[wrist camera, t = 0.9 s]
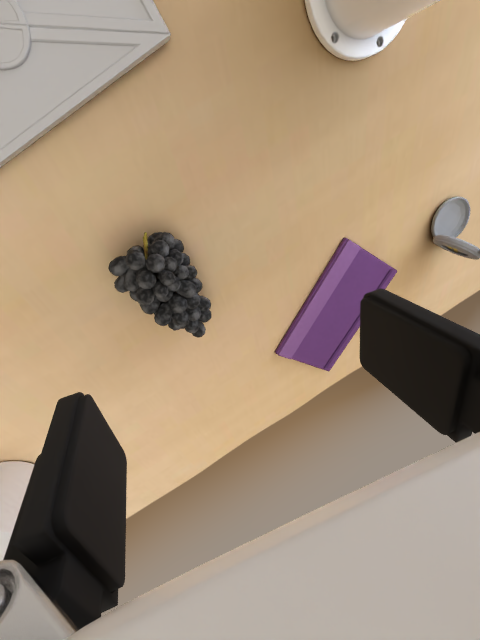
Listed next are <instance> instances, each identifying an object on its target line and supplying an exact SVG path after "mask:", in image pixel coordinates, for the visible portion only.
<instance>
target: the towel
mask: <svg viewBox="0 0 480 640" xmlns="http://www.w3.org/2000/svg"><path fill="white" fill-rule="evenodd" d="M396 273H397V270H395V269H394V268H392V267H391V266H389V265H387V264H386V263H384V262H383V261H381V260H380V259H378V258H376V257H375V256H373V255H372V254H370V253H369V252H367V251H365V250H364V249H362V248H361V247H360V246H358V245H357V244H355V243H354V242H352V241H350V240H349V239H347V238H343V240H342V242H341V243H340V245H339V247H338V248H337V250H336V252H335V253H334V255H333V257H332V258H331V260H330V261H329V263H328V265H327V266H326V268H325V270H324V271H323V273H322V275H321V276H320V278H319V280H318V281H317V283H316V285H315V286H314V288H313V290H312V291H311V293H310V294H309V296H308V298H307V299H306V301H305V303H304V304H303V306H302V308H301V309H300V311H299V313H298V314H297V316H296V318H295V319H294V321H293V323H292V324H291V326H290V328H289V329H288V331H287V332H286V334H285V336H284V337H283V339H282V341H281V342H280V344H279V346H278V347H277V349H276V351H275V353H276V354H278V355H279V356H282V357H285V358H288V359H294V360H297V361H300V362H303V363H306V364H309V365H312V366H315V367H318V368H321V369H324V370H327V371H330V369H331V368H332V366H333V365H334V364H335V362H336V361H337V359H338V358H339V356H340V355H341V353H342V352H343V350H344V349H345V347H346V346H347V344H348V343H349V342H350V340H351V339H352V337H353V336H354V334H355V333H356V331H357V330H358V328H359V327H360V302H361V300H362V299H363V297H364V295H365V294H366V293H369V292H372V291H375V290H377V289H386V287H387V286H388V284H389V283H390V281H391V280H392V278H393V277H394V275H395V274H396Z"/></svg>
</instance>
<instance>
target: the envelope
mask: <svg viewBox="0 0 480 640" xmlns="http://www.w3.org/2000/svg"><path fill="white" fill-rule="evenodd" d="M170 35H171V34H170V32H169V30H168V28H167V26H166V24H165V22H164V20H163V19H162V17H161V15H160V13H159V11H158V9H157V7H156V5H155V3H154V2H153V0H0V168H1V167H2V166H3V165H5V164H6V163H7V162H9V161H10V160H11V159H13V158H14V157H15V156H17V155H18V154H19V153H21V152H22V151H23V150H24V149H26V148H27V147H28V146H30V145H31V144H32V143H34V142H35V141H36V140H38V139H39V138H40V137H42V136H43V135H44V134H46V133H47V132H48V131H50V130H51V129H52V128H54V127H55V126H56V125H58V124H59V123H60V122H62V121H63V120H64V119H66V118H67V117H68V116H70V115H71V114H72V113H74V112H75V111H76V110H78V109H79V108H80V107H82V106H83V105H84V104H86V103H87V102H88V101H90V100H91V99H92V98H94V97H95V96H96V95H97V94H99V93H100V92H101V91H103V90H104V89H105V88H107V87H108V86H109V85H111V84H112V83H113V82H115V81H116V80H117V79H119V78H120V77H121V76H123V75H124V74H125V73H127V72H128V71H129V70H131V69H132V68H133V67H135V66H136V65H137V64H139V63H140V62H141V61H143V60H144V59H145V58H147V57H148V56H149V55H151V54H152V53H153V52H155V51H156V50H157V49H159V48H160V47H161V46H163V45H164V44H165V43H167V42H168V41H169V39H170Z"/></svg>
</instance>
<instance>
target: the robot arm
mask: <svg viewBox="0 0 480 640" xmlns="http://www.w3.org/2000/svg"><path fill="white" fill-rule="evenodd" d="M438 1H440V0H305V5H306V9H307V14H308V18H309V20H310V23H311V25H312V28H313V31H314V32H315V34H316V36H317V37H318V39H319V41H320V42H321V43H322V45H323V46H324V47H325V48H326V49H327V50H328V51H329V52H330V53H332V54H333V55H335V56H336V57H338V58H341V59H344V60H349V61H358V60H363V59H366V58H368V57H370V56H373V55H375V54H377V53H378V52H380V51H381V50H383V49H384V48H385V47H386V46H387V45H388V44H389V43H390V42H391V41H392V40H393V39H394V38H395V36H396V35H397V34H398V32H399V31H400V29H401V27H402V26H403V24H404V22H405V20H406V19H407V18H409V17H410V16H412V15H414V14H416V13H418V12H420V11H422V10H423V9H425V8H427V7H429V6H431V5H433V4H435V3H437V2H438ZM331 39H332V40H331ZM360 362H361V364H362V366H363V368H364V369H365V370H367V371H368V372H369V373H370V374H371V375H372V376H374V377H375V378H376V379H377V380H378V381H379V382H381V383H382V384H383V385H384V386H385V387H387V388H388V389H389V390H390V391H391V392H392V393H394V394H395V395H396V396H397V397H398V398H399V399H401V400H402V401H403V402H404V403H405V404H407V405H408V406H409V407H410V408H411V409H412V410H414V411H415V412H416V413H417V414H418V415H419V416H420V417H422V418H423V419H424V420H425V421H426V422H428V423H429V424H430V425H431V426H432V427H433V428H435V429H436V430H437V431H438V432H440V433H441V434H443V435H448V436H449V437H450V438H451V439H452V440H454V441H455V442H456V443H455V444H453V445H450V446H448V447H447V448H444V449H442V450H440V451H438V452H436V453H434V454H431V455H429V456H427V457H425V458H423V459H421V460H419V461H416V462H414V463H412V464H410V465H408V466H406V467H404V468H402V469H400V470H397V471H395V472H393V473H391V474H389V475H387V476H385V477H383V478H381V479H379V480H377V481H374V482H372V483H370V484H368V485H366V486H364V487H362V488H360V489H358V490H356V491H353V492H351V493H349V494H348V495H346V496H343V497H341V498H339V499H337V500H335V501H333V502H330V503H329V504H326V505H324V506H322V507H320V508H318V509H316V510H314V511H312V512H310V513H308V514H305V515H303V516H301V517H299V518H297V519H295V520H293V521H291V522H289V523H287V524H285V525H283V526H281V527H279V528H277V529H274V530H272V531H270V532H268V533H266V534H264V535H262V536H260V537H258V538H256V539H254V540H252V541H250V542H248V543H245V544H244V545H241V546H240V547H237V548H235V549H233V550H231V551H229V552H227V553H225V554H223V555H221V556H219V557H217V558H215V559H213V560H211V561H209V562H206V563H204V564H202V565H201V566H198V567H196V568H194V569H192V570H190V571H188V572H186V573H184V574H182V575H180V576H178V577H177V578H174V579H172V580H170V581H168V582H167V583H164V584H162V585H161V586H158V587H157V588H155V589H153V590H151V591H149V592H147V593H145V594H143V595H141V596H139V597H137V598H135V599H133V600H131V601H129V602H127V603H125V604H123V605H121V606H120V607H118V608H116V609H114V610H113V611H111V612H109V613H107V614H106V615H104V616H102V617H101V613H102V612H104V611H106V610H109V609H111V608H113V607H115V606H117V605H118V588H120V587H123V585H124V581H125V539H126V536H125V535H126V534H125V533H126V474H127V461H126V456H125V453H124V451H123V449H122V447H121V446H120V444H119V442H118V440H117V439H116V437H115V435H114V434H113V432H112V430H111V429H110V427H109V425H108V424H107V422H106V420H105V418H104V417H103V415H102V413H101V412H100V410H99V408H98V407H97V405H96V403H95V402H94V400H93V398H92V397H91V395H89V394H87V395H85V396H84V394H83V393H81V392H78V393H75V394H73V395H70V396H67V397H64V398H61V399H59V400H58V402H57V405H56V409H55V412H54V415H53V418H52V421H51V424H50V428H49V431H48V434H47V437H46V440H45V443H44V447H43V450H42V453H41V454H40V455H39V456H38V458H37V460H36V462H35V465H34V468H33V471H32V474H31V477H30V480H29V483H28V486H27V489H26V492H25V495H24V498H23V501H22V504H21V507H20V510H19V513H18V516H17V520H16V523H15V526H14V529H13V532H12V535H11V538H10V541H9V544H8V547H7V550H6V553H5V556H4V559H3V560H2V561H0V640H480V334H478V333H475V332H473V331H471V330H469V329H467V328H465V327H463V326H460V325H458V324H456V323H454V322H452V321H450V320H448V319H446V318H443V317H442V316H440V315H437V314H435V313H433V312H431V311H429V310H427V309H425V308H423V307H420V306H418V305H416V304H414V303H412V302H410V301H408V300H406V299H404V298H401V297H399V296H397V295H395V294H393V293H391V292H389V291H387V290H385V289H377V290H375V291H372V292H369V293H366V294H365V295H364V297H363V299H362V300H361V302H360ZM472 432H474V433H475V434H474V435H472V436H471V434H472Z"/></svg>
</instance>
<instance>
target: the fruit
mask: <svg viewBox="0 0 480 640" xmlns="http://www.w3.org/2000/svg"><path fill="white" fill-rule="evenodd" d="M143 243H144V249H143V248H142V247H140V246H133V247H132V248H130V249H129V250H128V251H127V255H126V256H119V257H117V258H115V259H114V260H113V261H111V262H110V264H109V271H110V272H111V273H112V274H113V275H115V276H119V277H118V278H117V279H116V281H115V282H114V284H115V288H116V289H117V290H118V291H119V292H122V293H123V292H126V291H130V296H131V298H132V299H133V300H135V301H138V303H140V306H141V308H142V310H143V311H144V312H145V313H147V314H153V313H154V315H155V317H154V319H155V322H156V323H157V324H159V325H161V326H166V325H167V324H168V326H169V328H171V329H173V330H174V331H175V330H179V329H184V328H185V329H186V331H187V332H189V333H192V334H193V336H195V337H202V336H203V335H204V334H205V330H206V329H205V327H204V325H203V323H202V322H207V321H208V320H210V319H211V311H210V310H209V308H210V307H211V303H210V300H209V299H208V298H206V297H204V296H199V295H198V292H199V291H200V290H201V289H202V283H201V282H200V280H199V279H197V278H195V277H196V275H197V270H196V269H195V267H194V266H191V265H189V264H190V258H189V256H187V255H186V254H185V253H182V252H183V249H184V247H183V244H182V242H181V241H180V240H178V239H174V237H173V236H172V235H171V234H170V233H166V232H163V233H162V232H158V233H154V234H152V235H151V236H149V237H148V239H147V232H145V233H144V237H143ZM148 246H149V247H148ZM176 292H177V293H176Z"/></svg>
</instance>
